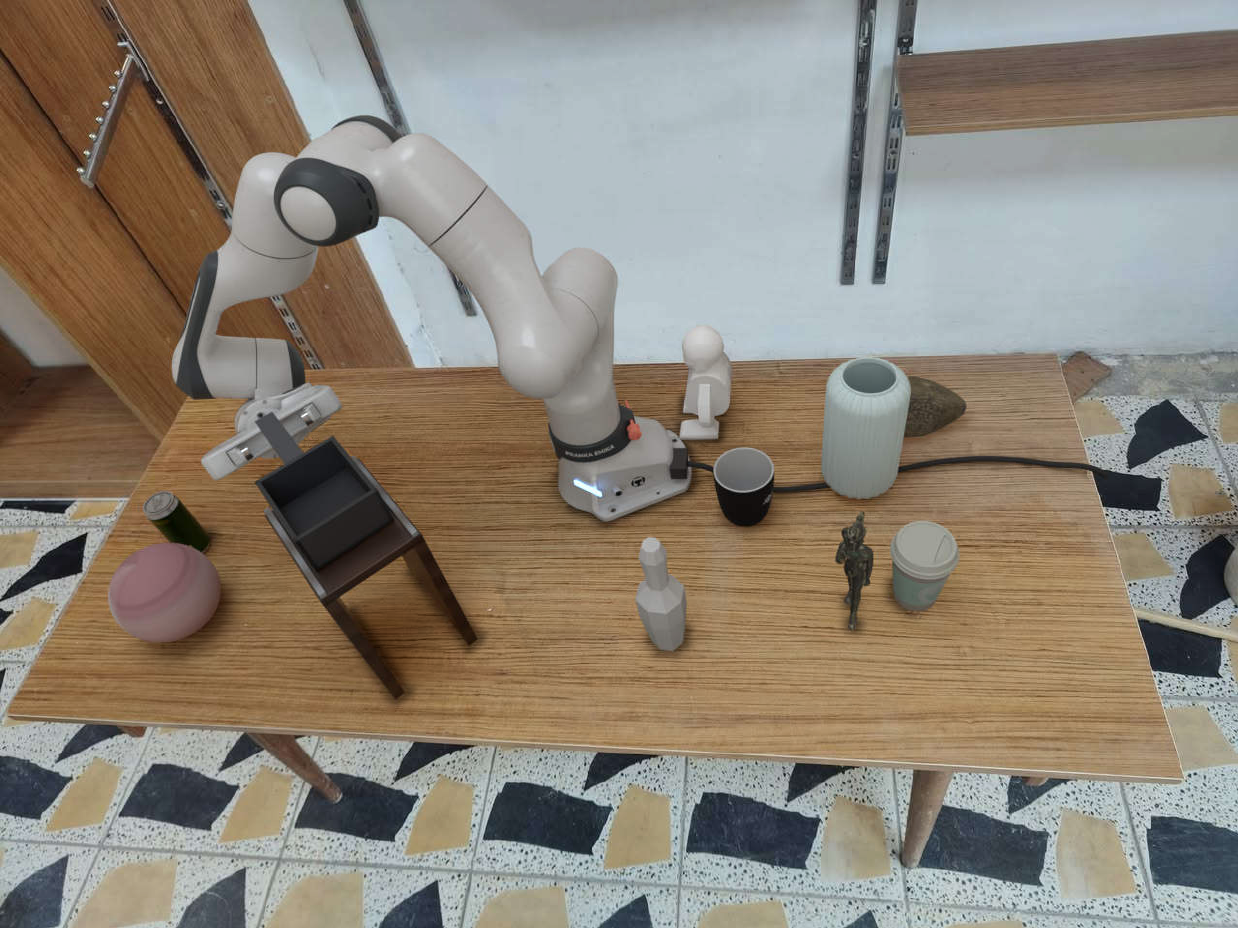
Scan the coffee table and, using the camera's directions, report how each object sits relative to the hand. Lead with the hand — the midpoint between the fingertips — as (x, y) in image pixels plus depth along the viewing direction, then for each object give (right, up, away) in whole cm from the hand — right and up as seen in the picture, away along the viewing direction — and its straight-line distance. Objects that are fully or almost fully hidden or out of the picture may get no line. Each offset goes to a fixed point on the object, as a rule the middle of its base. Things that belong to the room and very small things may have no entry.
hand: (277, 436), depth 111 cm
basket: (+7, -8, -4) cm, 11 cm away
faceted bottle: (+53, -28, +5) cm, 61 cm away
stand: (+15, -28, +12) cm, 34 cm away
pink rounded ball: (-22, -28, +19) cm, 40 cm away
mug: (+67, -10, +18) cm, 70 cm away
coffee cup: (+88, -22, +4) cm, 91 cm away
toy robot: (+62, +4, +32) cm, 70 cm away
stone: (+94, +3, +25) cm, 98 cm away
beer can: (-26, -18, +29) cm, 43 cm away
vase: (+84, -6, +19) cm, 86 cm away
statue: (+78, -25, +3) cm, 82 cm away
